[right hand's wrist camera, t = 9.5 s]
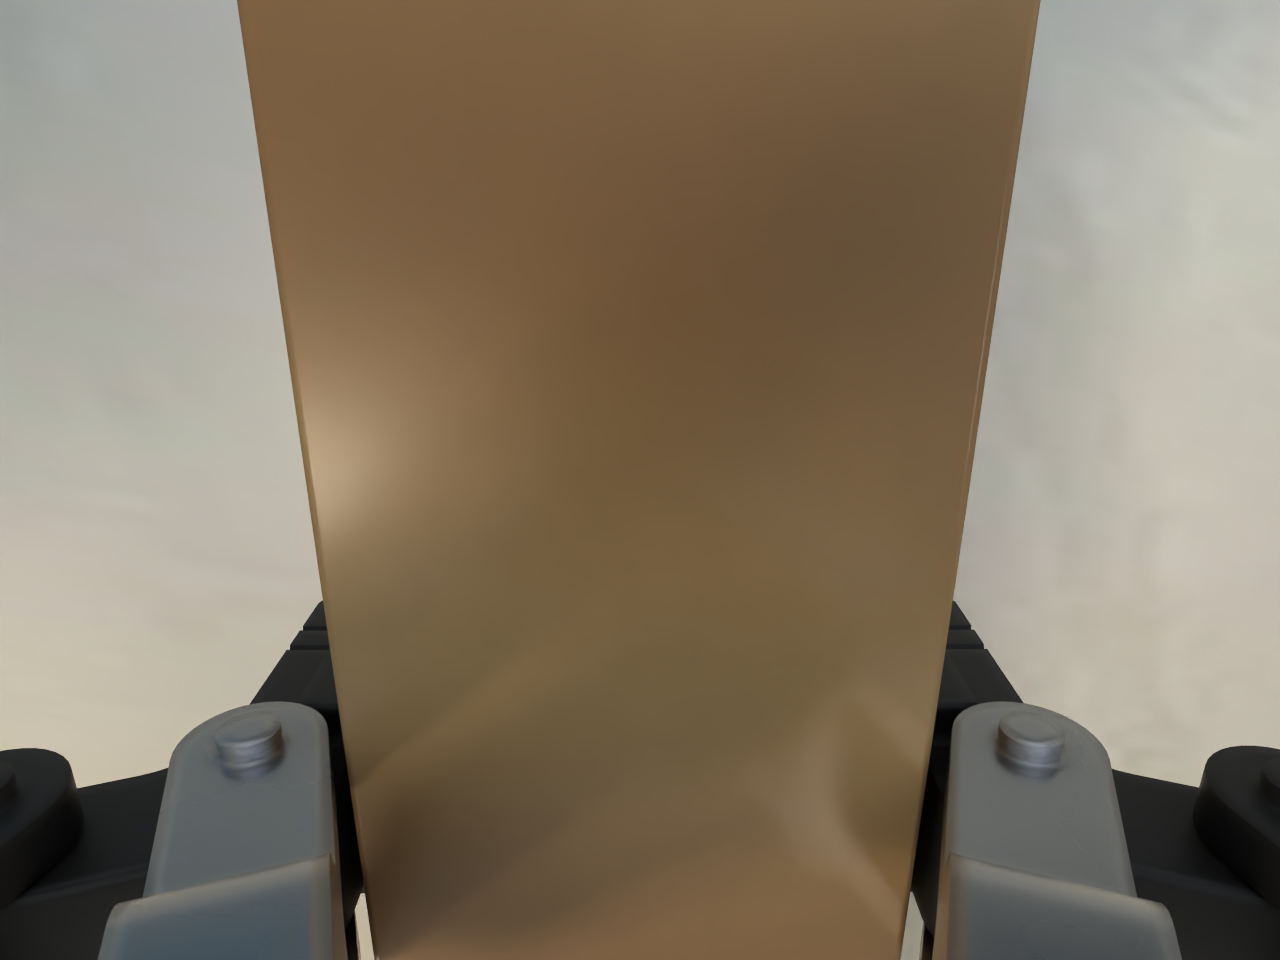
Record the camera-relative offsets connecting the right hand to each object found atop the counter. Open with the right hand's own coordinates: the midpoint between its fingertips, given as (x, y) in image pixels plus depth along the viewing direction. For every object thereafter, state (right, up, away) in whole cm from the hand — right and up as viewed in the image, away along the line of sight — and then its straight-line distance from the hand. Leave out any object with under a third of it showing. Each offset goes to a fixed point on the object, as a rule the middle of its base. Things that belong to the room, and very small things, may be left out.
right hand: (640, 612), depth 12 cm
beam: (0, -24, +11) cm, 27 cm away
